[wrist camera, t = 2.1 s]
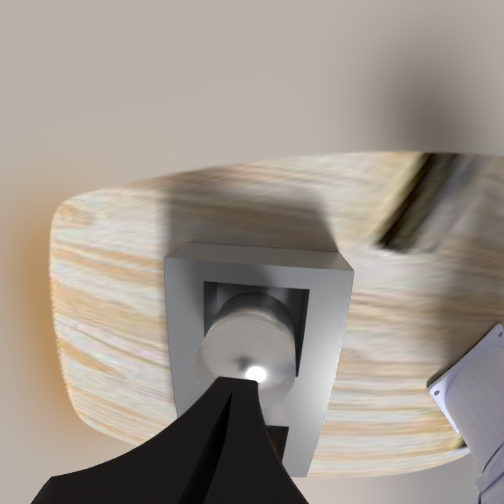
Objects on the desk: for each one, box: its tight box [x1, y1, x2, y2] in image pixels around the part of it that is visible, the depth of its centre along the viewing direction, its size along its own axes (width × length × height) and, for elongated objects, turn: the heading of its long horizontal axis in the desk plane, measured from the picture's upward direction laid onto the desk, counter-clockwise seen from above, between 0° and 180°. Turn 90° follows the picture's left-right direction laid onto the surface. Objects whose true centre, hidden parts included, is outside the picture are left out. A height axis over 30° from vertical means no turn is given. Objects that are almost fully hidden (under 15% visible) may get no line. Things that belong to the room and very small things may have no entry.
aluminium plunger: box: [194, 292, 296, 409], centre depth 13 cm, size 4×4×4 cm
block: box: [164, 242, 354, 477], centre depth 17 cm, size 16×9×4 cm, turn 177°
